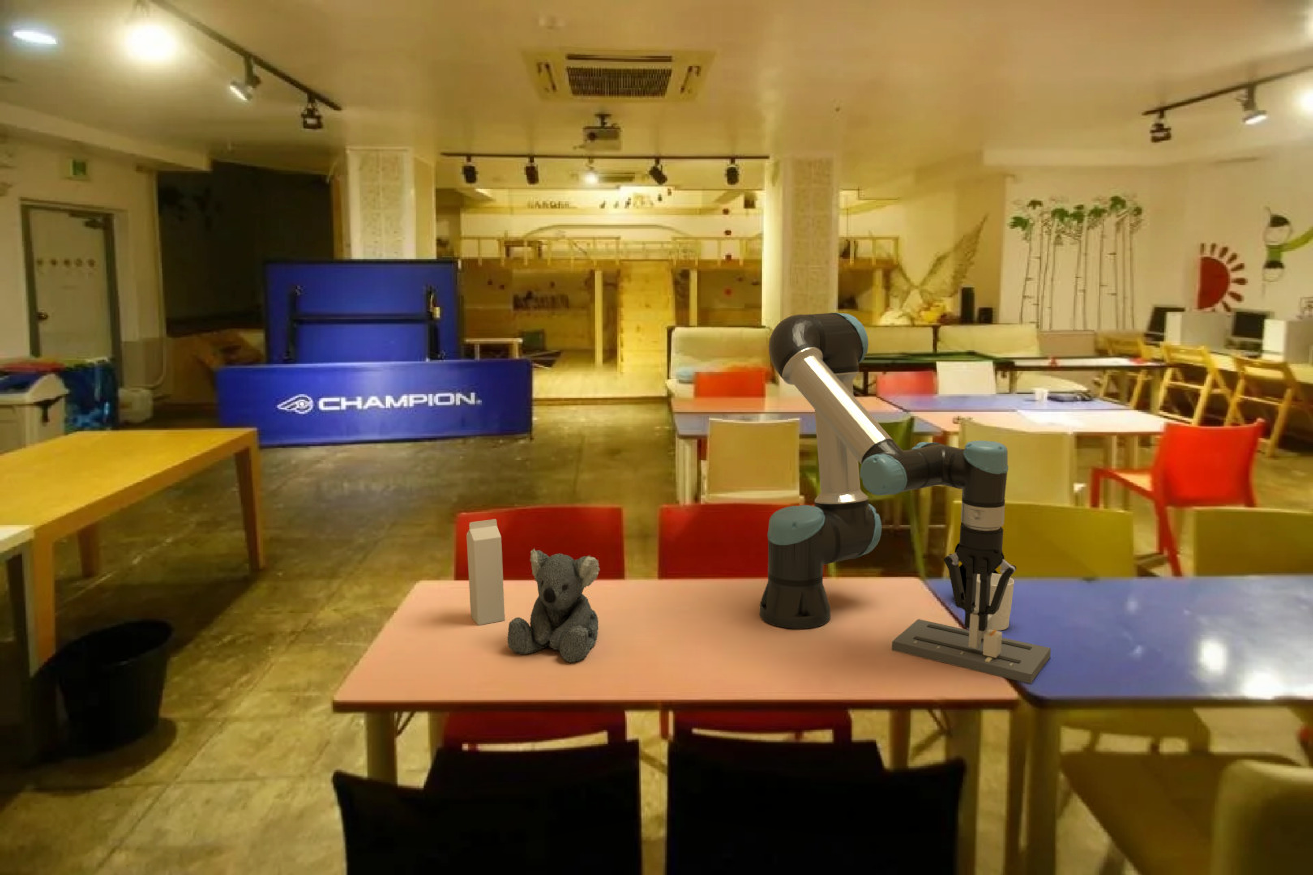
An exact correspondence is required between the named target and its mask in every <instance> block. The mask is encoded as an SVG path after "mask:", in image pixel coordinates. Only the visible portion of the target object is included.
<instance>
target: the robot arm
mask: <svg viewBox="0 0 1313 875" xmlns="http://www.w3.org/2000/svg"><path fill="white" fill-rule="evenodd" d="M868 350H869V338H868V333H867V330H866V329H865V327H864V325H863V324H862V322H861V321H859V320H858V318H856V316H854V315H851V314H849V313H845V312H844V313H842V312H841V313H840V312H828V313H826V312H825V313H813V314H812V313H809V314H794V315H793V314H792V315H790V316H788V317H786V318H784V319H783V320H781V321H780V322H779V323H778V324H777V325H776V326H775V327H774V329H773V330H772V332H771V335H770V337H769V341H768V352H769V353H768V355H769V358H770V362H771V364H772V366H773V368H774V370H775V372H776V373H777V374H778V375H779V376H780V378H781V379H782V380H783V381H784V383H786V384H788V385H791V386H794V387H795V388H796V390H798V391H799V392H800V394H801V395H802V396H803V398H805V400H806V401H807V403H809V404H810V405H811V407H812V408H813V409H814V417H815V418H814V419H815V433H816V447H817V457H818V459H817V460H818V472H819V473H818V474H819V484H820V493H819V494H818V495H817V497H815V498H814V506H813V505H809V504H801V505H798V506H797V505H791V506H786V507H784V508H783V507H782V508H780V509H778V510H776V511H774V512H773V513H772V514H771V516H770V518H769V521H768V531H767V543H768V545H767V547H768V548H767V549H768V550H767V555H768V556H767V557H768V558H767V559H768V560H767V561H768V562H767V566H768V567H767V582H766V586H765V588H764V591H763V594H762V598H761V600H760V601H759V602H760V603H759V616H760V618H761V620H762V621H764V622H766V623H767V624H770V625H771V626H775V627H778V628H779V627H780V628H786V629H795V630H796V629H797V630H799V629H803V630H804V629H812V628H813V629H814V628H817V627H820V626H823V625H825V624H827V623H828V622H829V621H830V620H831V605H830V602H829V599H828V596H827V592H826V589H825V587H824V583H823V581H824V580H823V579H824V577H823V575H824V565H829V564H832V563H837V562H838V563H839V562H842V561H845V560H850V559H851V560H853V559H854V560H855V559H857V558H860V557H862V556H863V555H864V556H865V555H868V554H870V552H872V551H873V550H874V549H875V548H876V547H877V545H878V543H879V542H880V540H881V536H882V520H881V516H880V514H879V513H877V510H876V507H874V506H873V505H872V504H870V503H869V496H868V495H866V494H865V493H864V491H862V489H861V480H862V486H863V487H864V488H865V490H867V492H869V493H870V494H873V495H875V496H887V495H888V496H889V495H891V496H892V495H897V494H900V493H903V492H904V493H905V492H908V491H909V492H910V491H913V490H920V489H926V488H930V487H935V486H946V487H950V488H954V489H958V490H961V510H960V511H961V512H960V521H961V522H962V523H963V524H962V525H961V524H960V529H959V541H958V543H959V547H958V549H957V551H956V553H955V552H954V553H949V554H947V555H946V556H945V557H944V558H943V562H944V564H945V566H946V568H947V569H948V573H949V578H950V584H951V588H952V594H953V600H954V605H955V606H956V607H957V608H961V609H962V610H963V611H964V627H965V628H966V629H968V630H969V647H972V648H977V647H978V646H979V645H980V644H981V633H982V631H985V630H986V628H987V623H988V614H992V615H993V614H995V613H996V612H997V611H998V610H999V607H1000V604H1001V601H1002V599H1003V596H1004V593H1005V590H1006V587H1007V584H1008V581H1009V578H1011V576H1012V575H1013V574H1014V573H1015V572H1016V571H1017V566H1016V565H1014V564H1010V563H1009V562H1008V561H1006V559H1005V555H1004V553H1003V541H1004V528H1003V526H1004V524H1005V510H1006V509H1005V508H1006V504H1005V503H1006V490H1007V489H1006V488H1007V480H1008V471H1009V465H1008V461H1009V460H1008V458H1009V457H1008V454H1009V453H1008V448H1007V446H1005V445H1004V444H1003V443H1001V442H998V441H992V440H991V441H989V440H972V441H971V440H970V441H968V442H966V444H965V445H964V448H960V447H955V446H952V445H945V444H942V443H939V442H928V441H921V442H918V443H917V444H916V445H915V446H913V447H911V449H907V450H906V449H905V450H903V449H902V448H901V447H900V446H899V445H898V443H897V442H896V441H894V439H893V438H892V437H891V436H890V435H889V434H888V432H887V431H886V430H885V429H884V428H883V427H882V426H881V424H880V423H879V422H878V421H877V420H876V419H875V418H874V417H873V416H872V414H870V413H869V411H868V410H867V409H866V408H865V407H864V405H863V404H861V402H860V401H859V400H858V399H857V398H856V396H855V395H854V386H853V382H854V380H855V378H857V377H858V375H859V374H860V372H859V371H860V369H859V367H860V366H859V364H860V363H862V361H864V360H865V358H866V354H868ZM859 463H860V465H861V466H860V467H859ZM859 468H860V469H859ZM860 479H861V480H860ZM961 522H960V523H961ZM959 559H960V561H961V562H960V561H959ZM960 563H961V565H962V564H963V566H964V568H965V569H966V595H965V594H964V589H963V584H962V579H961V573H960V568H959V566H960V565H959V564H960ZM999 567H1000V569H999V572H1000V574H1001V577H1000V579H999V582H998V585H997V588H996V591H995V593H994V596H993V599H992V602H991V605H990V606H989V602H990V585H991V577H992V573H993V572H994V571H995V570H996V571H997V569H998V568H999ZM977 574H980V597H979V610H974V608H975V607H976V605H975V599H976V584H977ZM965 628H964V629H965Z"/></svg>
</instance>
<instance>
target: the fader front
mask: <svg viewBox="0 0 1313 875" xmlns="http://www.w3.org/2000/svg"><path fill="white" fill-rule="evenodd" d="M1002 636H1003V632H1002V631H1000V630H998V631H997V630H990V629H989V630H988V631H987V632H986V633H985V634H984V644H983V655H986V656H991V657H995V658H996V657H997V656H998V655H999V654H1000V653H1001V641H1002V638H1003V637H1002Z"/></svg>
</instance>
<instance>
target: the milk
mask: <svg viewBox="0 0 1313 875" xmlns="http://www.w3.org/2000/svg"><path fill="white" fill-rule="evenodd" d="M497 521H498V520H497V519H496V518H493V519H487V520H479V521H471V522H469V526H468V528H469V530H468V531H467V533H466V547H467V550H466V551H467V568H468V587H469V588H468V589H469V602H470V603H469V606H470V617H471V618H472V620H473V621H474V623H476V625H477V626H483V625H488V624H493V623H498V622H503V621H506V614H505V597H504V596H505V594H504V591H505V590H504V573H503V572H504V571H503V570H504V569H503V550H502V548H503V547H502V535H501V533H500V531H499V528H498V523H497Z"/></svg>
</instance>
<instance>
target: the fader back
mask: <svg viewBox="0 0 1313 875" xmlns="http://www.w3.org/2000/svg"><path fill="white" fill-rule="evenodd" d="M992 618H993V615H988V623H987V628H986V630H985V631H982V633H981V638H982V639H984V634H985V633H986V632H987V631H988V630H989V629H990V630H992Z"/></svg>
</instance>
